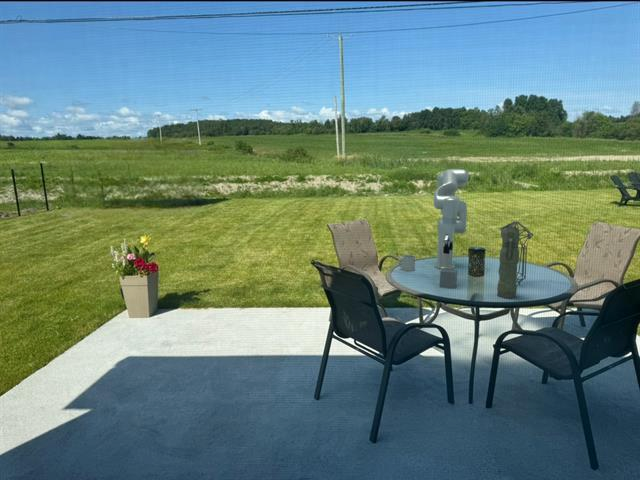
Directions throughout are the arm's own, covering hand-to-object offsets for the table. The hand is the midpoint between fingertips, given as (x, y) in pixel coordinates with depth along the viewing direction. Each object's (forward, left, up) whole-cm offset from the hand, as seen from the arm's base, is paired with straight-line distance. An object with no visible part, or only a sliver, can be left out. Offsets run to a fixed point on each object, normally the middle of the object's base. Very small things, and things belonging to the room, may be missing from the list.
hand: (447, 251), depth 246 cm
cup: (-22, -28, -19) cm, 41 cm away
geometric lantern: (-16, +33, -19) cm, 41 cm away
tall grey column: (+10, +32, -19) cm, 38 cm away
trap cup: (+4, +2, -18) cm, 19 cm away
